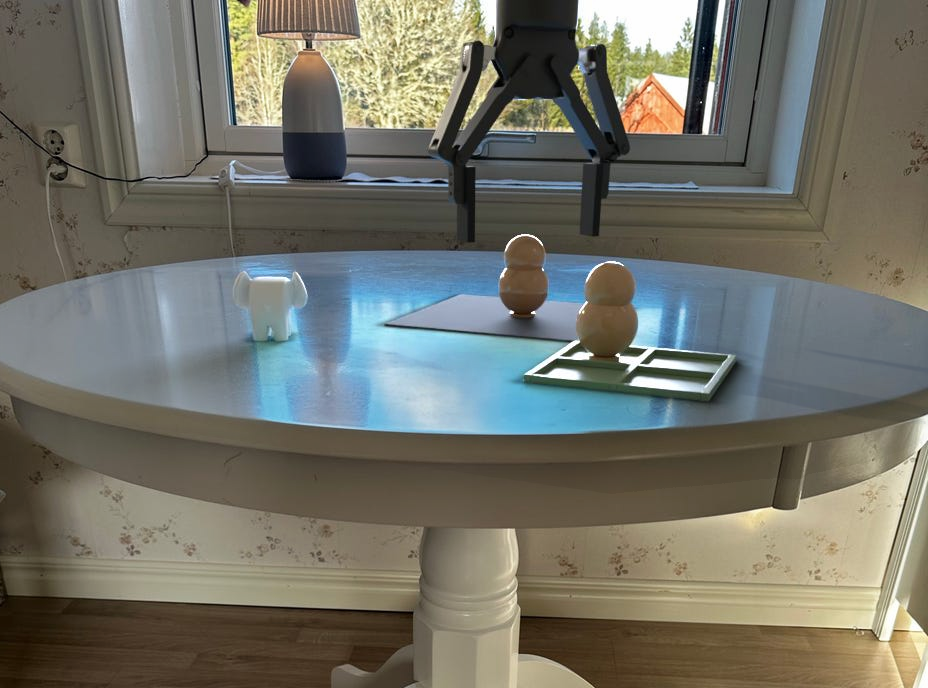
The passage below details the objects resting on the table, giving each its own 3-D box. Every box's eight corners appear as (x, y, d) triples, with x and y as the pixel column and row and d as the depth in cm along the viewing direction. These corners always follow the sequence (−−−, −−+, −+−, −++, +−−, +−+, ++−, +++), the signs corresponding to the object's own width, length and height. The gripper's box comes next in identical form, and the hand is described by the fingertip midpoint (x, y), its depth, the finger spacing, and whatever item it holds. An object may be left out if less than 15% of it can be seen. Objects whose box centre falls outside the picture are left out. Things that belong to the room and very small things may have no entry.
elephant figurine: (314, 331, 93) (310, 266, 90) (305, 348, 86) (301, 278, 83) (244, 331, 92) (238, 265, 90) (229, 348, 85) (222, 278, 83)
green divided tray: (735, 365, 81) (736, 354, 81) (707, 406, 69) (709, 393, 69) (573, 350, 86) (574, 340, 85) (522, 386, 74) (523, 374, 74)
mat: (631, 311, 103) (631, 306, 103) (580, 346, 87) (581, 341, 87) (460, 298, 110) (460, 294, 110) (384, 329, 94) (384, 323, 94)
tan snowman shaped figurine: (553, 313, 99) (558, 233, 96) (538, 321, 95) (542, 238, 92) (507, 309, 101) (509, 231, 97) (489, 317, 97) (492, 236, 93)
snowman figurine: (640, 355, 83) (650, 260, 79) (626, 367, 78) (636, 267, 75) (582, 349, 84) (589, 256, 81) (565, 361, 80) (572, 263, 76)
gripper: (635, -10, 92) (618, 229, 102) (390, -22, 83) (397, 240, 93) (680, -20, 85) (657, 236, 96) (420, -34, 77) (425, 247, 87)
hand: (528, 238), depth 95 cm, fingers open, 13 cm apart
